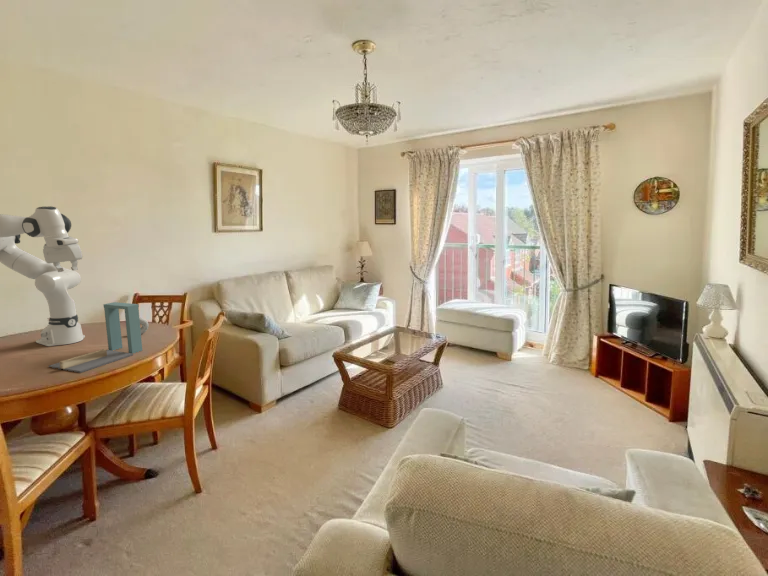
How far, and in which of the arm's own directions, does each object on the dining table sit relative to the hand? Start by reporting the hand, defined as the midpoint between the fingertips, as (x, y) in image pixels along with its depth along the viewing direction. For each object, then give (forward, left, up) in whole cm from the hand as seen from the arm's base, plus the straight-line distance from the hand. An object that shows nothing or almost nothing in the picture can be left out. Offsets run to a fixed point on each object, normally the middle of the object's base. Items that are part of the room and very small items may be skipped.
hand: (68, 271), depth 184 cm
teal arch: (+13, +14, -42) cm, 46 cm away
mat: (+13, -2, -42) cm, 44 cm away
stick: (+13, -6, -41) cm, 43 cm away
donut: (-7, +39, -42) cm, 58 cm away
